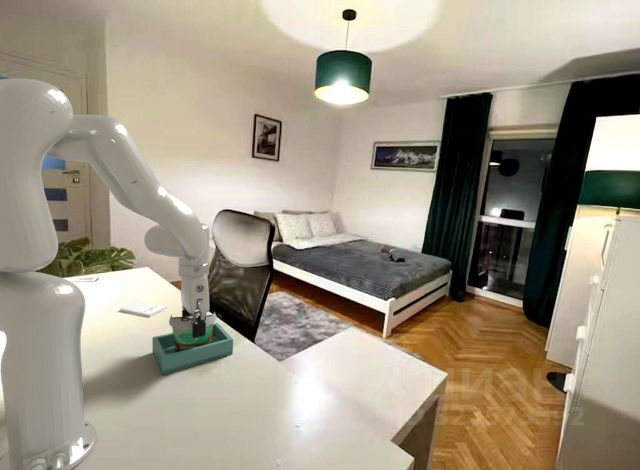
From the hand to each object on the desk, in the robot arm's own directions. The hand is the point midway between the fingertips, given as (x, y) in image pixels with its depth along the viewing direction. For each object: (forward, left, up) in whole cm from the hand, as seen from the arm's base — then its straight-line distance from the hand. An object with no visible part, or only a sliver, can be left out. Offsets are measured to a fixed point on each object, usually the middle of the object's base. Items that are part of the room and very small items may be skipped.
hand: (193, 328), depth 83 cm
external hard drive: (+37, +6, -8) cm, 39 cm away
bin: (0, 0, -7) cm, 7 cm away
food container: (-1, 0, -6) cm, 7 cm away
